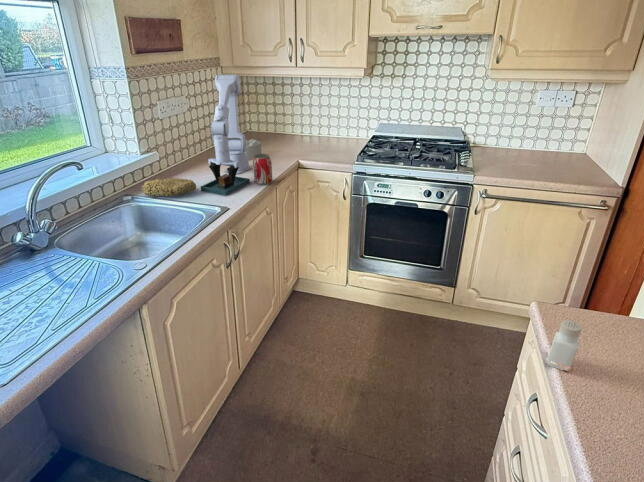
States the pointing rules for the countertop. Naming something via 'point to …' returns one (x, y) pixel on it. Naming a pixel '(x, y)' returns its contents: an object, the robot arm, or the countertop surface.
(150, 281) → the countertop surface
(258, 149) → the lumpy-topped squat cylinder
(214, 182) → the tray
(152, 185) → the sponge
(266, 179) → the beverage can
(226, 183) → the eraser
